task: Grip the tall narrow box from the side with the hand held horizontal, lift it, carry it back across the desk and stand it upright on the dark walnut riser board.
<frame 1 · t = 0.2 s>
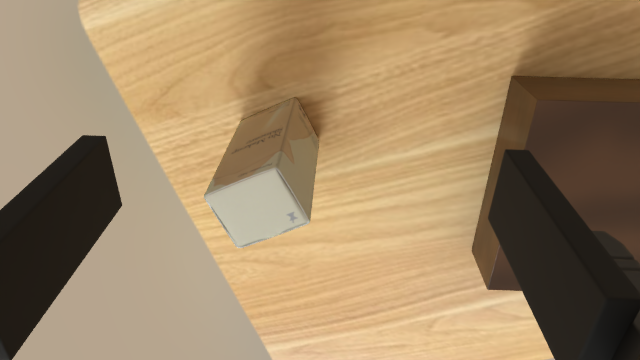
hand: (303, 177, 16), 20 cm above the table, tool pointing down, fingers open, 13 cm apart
box: (279, 131, 36), on the table
riser: (576, 175, 37), on the table
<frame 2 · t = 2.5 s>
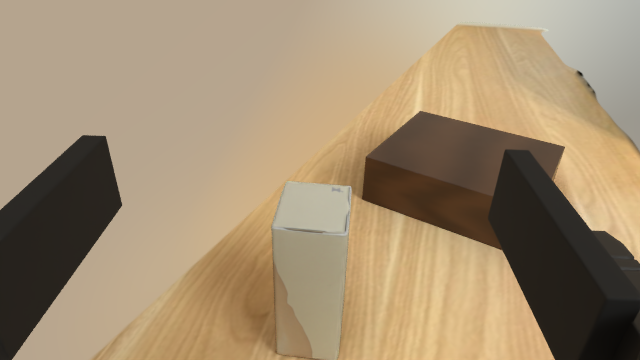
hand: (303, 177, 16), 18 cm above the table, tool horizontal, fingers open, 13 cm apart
box: (311, 332, 33), on the table
riser: (459, 193, 49), on the table
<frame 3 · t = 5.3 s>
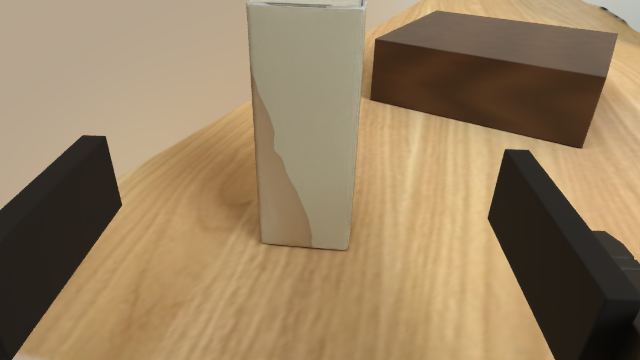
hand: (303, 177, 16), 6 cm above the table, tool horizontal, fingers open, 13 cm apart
box: (310, 222, 24), on the table
riser: (488, 94, 40), on the table
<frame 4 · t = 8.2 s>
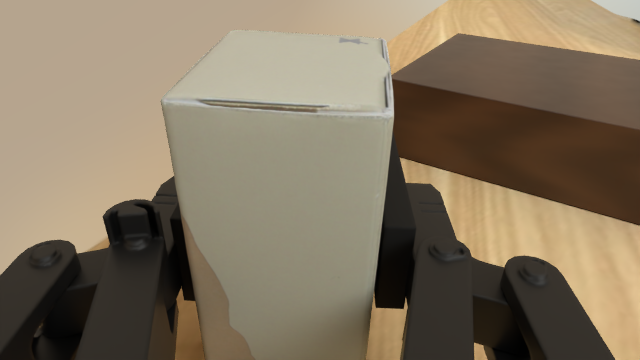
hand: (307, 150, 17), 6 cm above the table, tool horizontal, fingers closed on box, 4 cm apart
riser: (527, 142, 32), on the table
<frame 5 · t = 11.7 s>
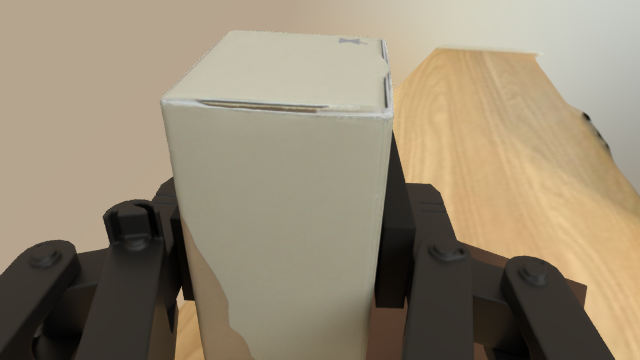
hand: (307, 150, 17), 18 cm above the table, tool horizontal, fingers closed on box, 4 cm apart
riser: (422, 357, 31), on the table
when the fingers open (11 cm above the table, at t = 15.6 s): box stays where it is, resting on riser.
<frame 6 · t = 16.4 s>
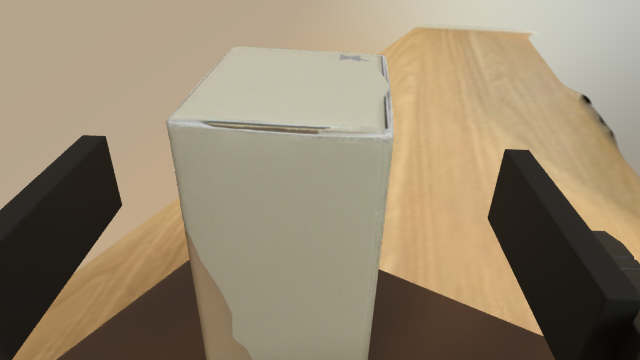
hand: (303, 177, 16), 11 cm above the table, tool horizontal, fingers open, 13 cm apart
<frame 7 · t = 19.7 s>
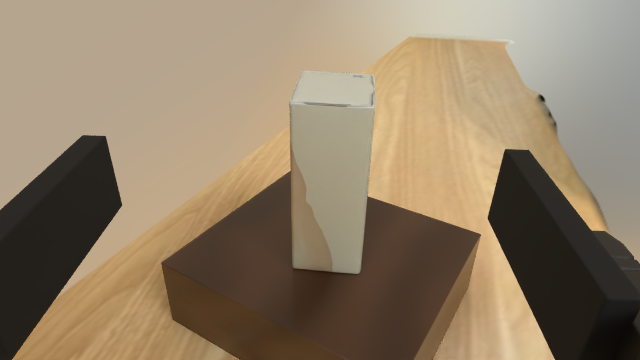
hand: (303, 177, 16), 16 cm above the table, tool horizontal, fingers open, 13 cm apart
box: (329, 250, 30), point 5 cm above the table, touching riser
riser: (327, 302, 33), on the table
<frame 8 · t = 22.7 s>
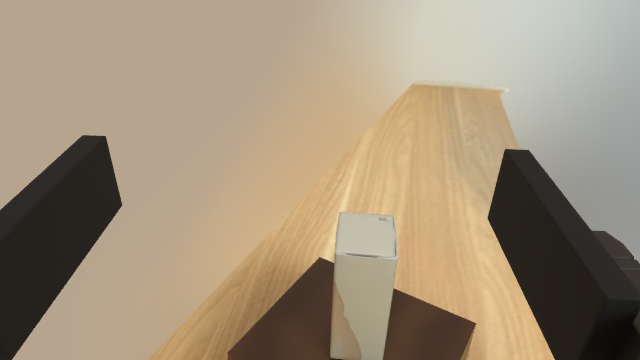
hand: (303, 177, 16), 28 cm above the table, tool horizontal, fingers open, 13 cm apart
box: (357, 339, 39), point 5 cm above the table, touching riser
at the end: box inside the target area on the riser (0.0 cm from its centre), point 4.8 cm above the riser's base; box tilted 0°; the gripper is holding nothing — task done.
